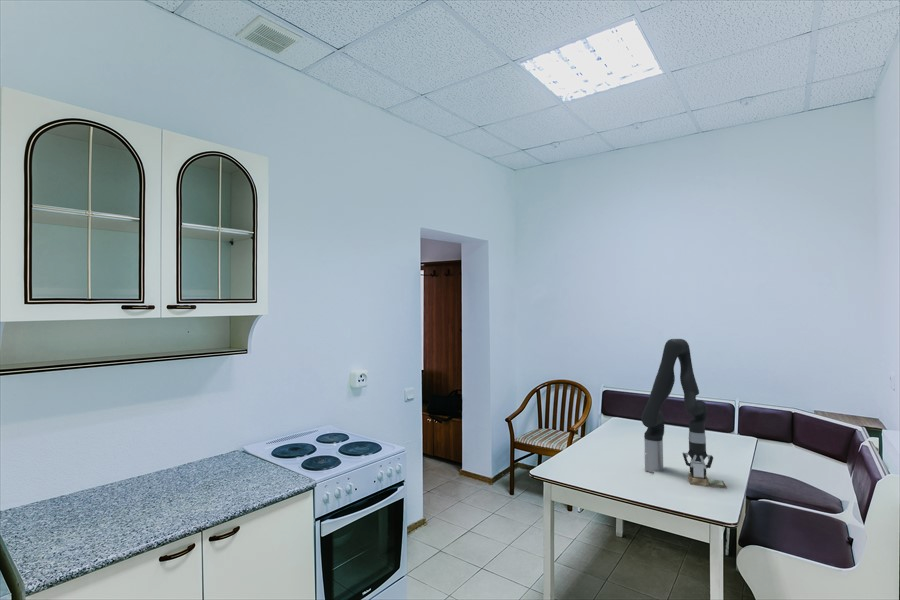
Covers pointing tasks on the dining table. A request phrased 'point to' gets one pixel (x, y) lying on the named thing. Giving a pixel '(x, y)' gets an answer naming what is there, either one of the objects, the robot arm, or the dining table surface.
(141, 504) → the dining table surface
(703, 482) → the brown compartment tray
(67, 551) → the dining table surface
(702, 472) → the block
